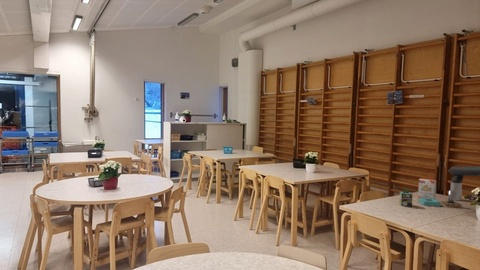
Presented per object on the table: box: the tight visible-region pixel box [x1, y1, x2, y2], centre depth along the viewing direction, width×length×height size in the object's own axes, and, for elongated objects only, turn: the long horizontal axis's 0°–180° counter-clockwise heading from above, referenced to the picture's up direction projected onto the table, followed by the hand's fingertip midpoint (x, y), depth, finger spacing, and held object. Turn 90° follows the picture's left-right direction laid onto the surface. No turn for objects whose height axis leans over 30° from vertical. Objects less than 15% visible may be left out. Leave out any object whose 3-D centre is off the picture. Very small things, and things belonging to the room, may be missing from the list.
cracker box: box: [417, 178, 437, 200], centre depth 316 cm, size 14×6×21 cm, turn 43°
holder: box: [440, 200, 462, 209], centre depth 296 cm, size 12×12×3 cm
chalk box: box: [399, 188, 413, 208], centre depth 294 cm, size 9×9×15 cm
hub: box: [418, 198, 442, 207], centre depth 300 cm, size 14×14×4 cm
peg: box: [447, 189, 455, 204], centre depth 296 cm, size 4×4×14 cm
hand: (465, 196), depth 287 cm, fingers open, 8 cm apart
